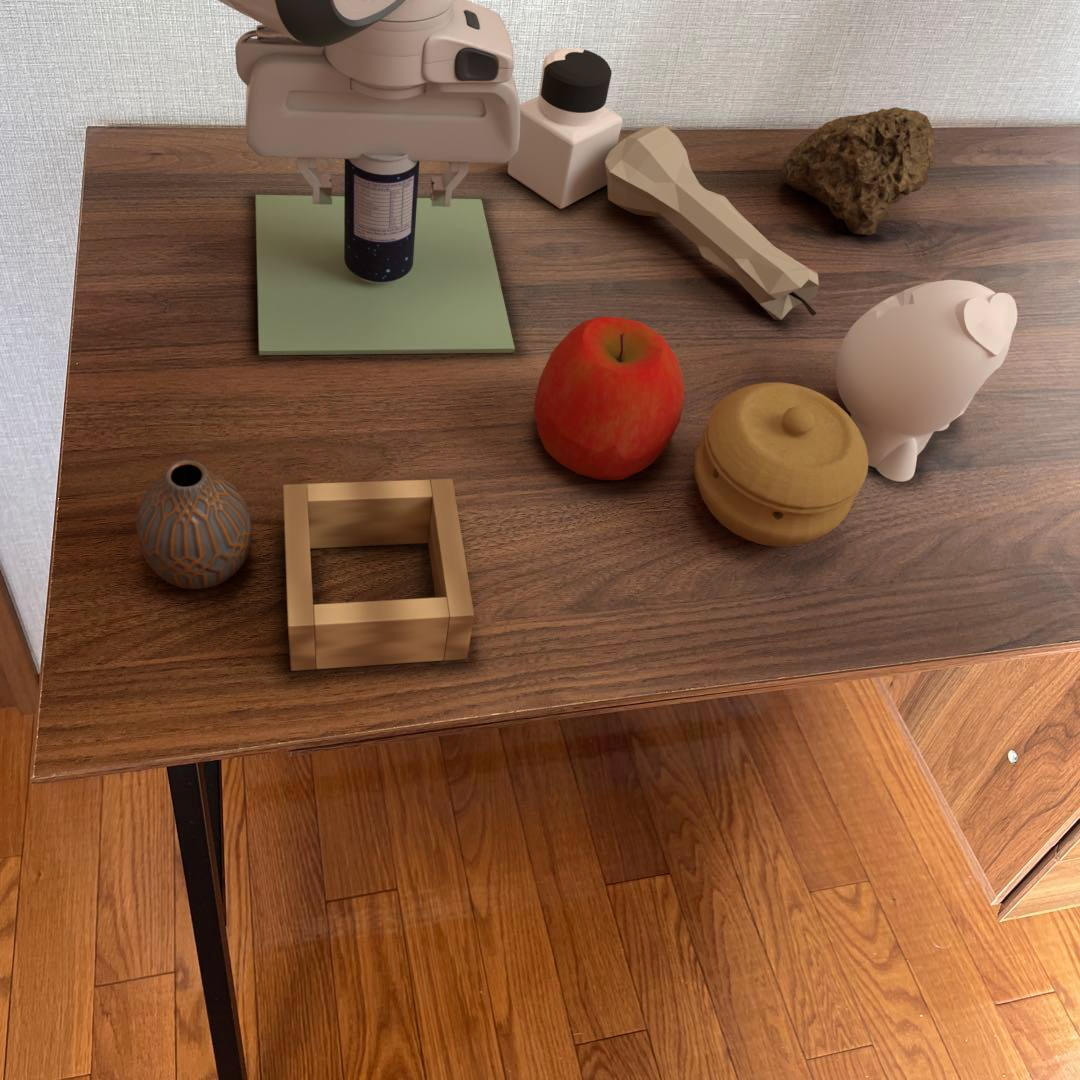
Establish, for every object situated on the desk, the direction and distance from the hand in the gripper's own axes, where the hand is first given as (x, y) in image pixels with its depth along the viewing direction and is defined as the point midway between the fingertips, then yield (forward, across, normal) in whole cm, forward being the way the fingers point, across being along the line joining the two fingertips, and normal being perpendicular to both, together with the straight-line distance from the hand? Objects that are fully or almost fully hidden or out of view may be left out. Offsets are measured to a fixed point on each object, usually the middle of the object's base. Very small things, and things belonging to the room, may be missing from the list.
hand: (381, 201), depth 88 cm
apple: (+7, +15, -20) cm, 26 cm away
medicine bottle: (+7, +18, +14) cm, 24 cm away
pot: (+7, +26, -27) cm, 38 cm away
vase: (+7, -14, -30) cm, 34 cm away
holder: (+7, -3, -33) cm, 34 cm away
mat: (+7, 0, 0) cm, 7 cm away
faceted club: (+7, +29, +2) cm, 30 cm away
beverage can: (+7, 0, 0) cm, 7 cm away
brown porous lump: (+7, +47, +10) cm, 49 cm away
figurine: (+7, +39, -19) cm, 44 cm away
